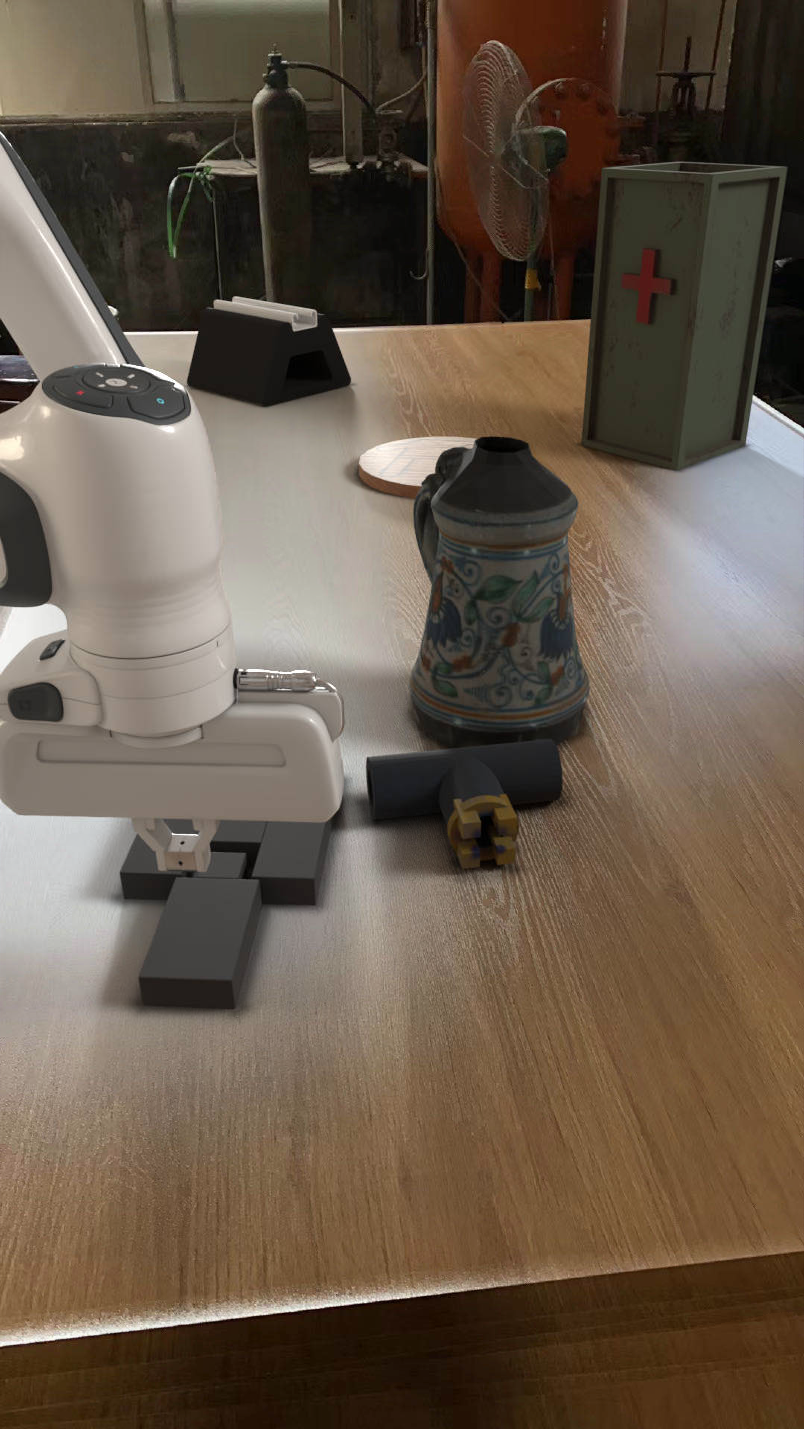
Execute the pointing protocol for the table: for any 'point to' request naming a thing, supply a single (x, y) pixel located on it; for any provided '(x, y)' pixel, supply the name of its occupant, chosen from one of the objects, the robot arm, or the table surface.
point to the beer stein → (497, 600)
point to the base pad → (272, 848)
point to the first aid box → (679, 308)
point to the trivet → (405, 463)
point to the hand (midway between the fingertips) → (185, 865)
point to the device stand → (265, 352)
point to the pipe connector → (468, 791)
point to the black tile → (204, 938)
